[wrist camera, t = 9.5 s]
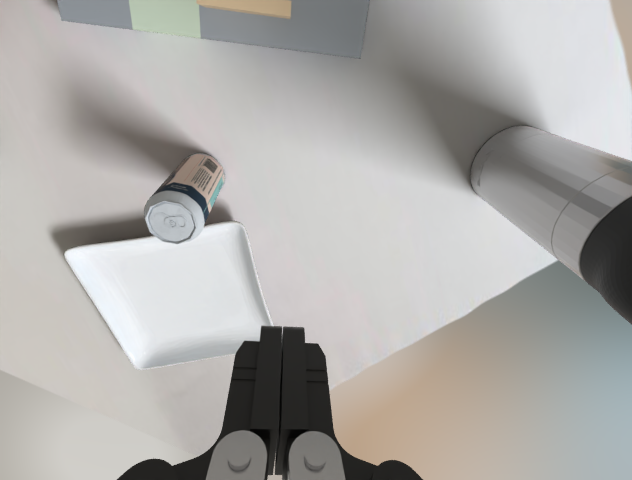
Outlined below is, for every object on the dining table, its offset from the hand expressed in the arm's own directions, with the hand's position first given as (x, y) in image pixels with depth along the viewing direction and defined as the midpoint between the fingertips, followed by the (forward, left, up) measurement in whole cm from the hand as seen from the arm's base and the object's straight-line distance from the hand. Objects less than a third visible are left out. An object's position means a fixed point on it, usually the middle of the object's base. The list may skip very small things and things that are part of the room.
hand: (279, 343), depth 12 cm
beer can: (+9, +4, -28) cm, 30 cm away
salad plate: (+12, +21, -29) cm, 38 cm away
